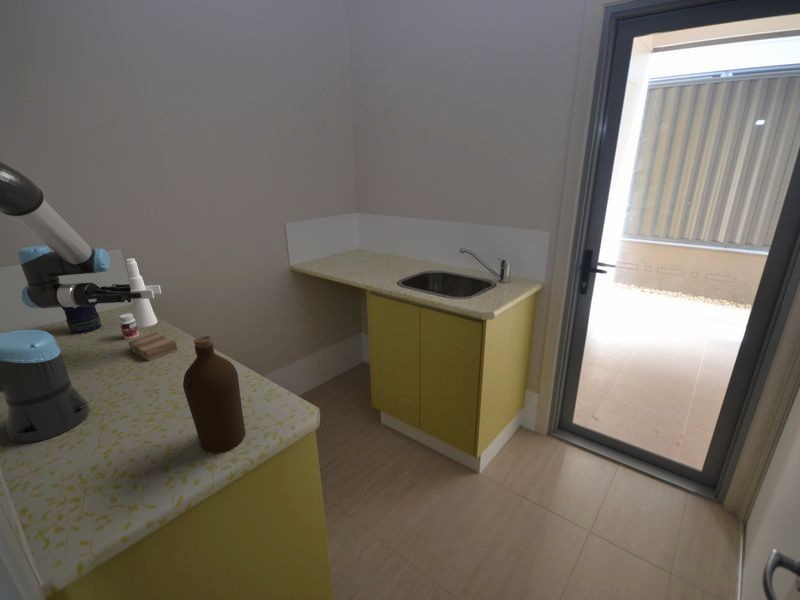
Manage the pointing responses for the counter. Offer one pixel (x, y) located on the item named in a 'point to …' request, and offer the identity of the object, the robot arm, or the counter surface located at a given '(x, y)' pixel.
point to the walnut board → (152, 346)
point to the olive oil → (214, 399)
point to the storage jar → (82, 319)
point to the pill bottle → (128, 326)
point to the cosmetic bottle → (142, 306)
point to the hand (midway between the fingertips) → (156, 291)
